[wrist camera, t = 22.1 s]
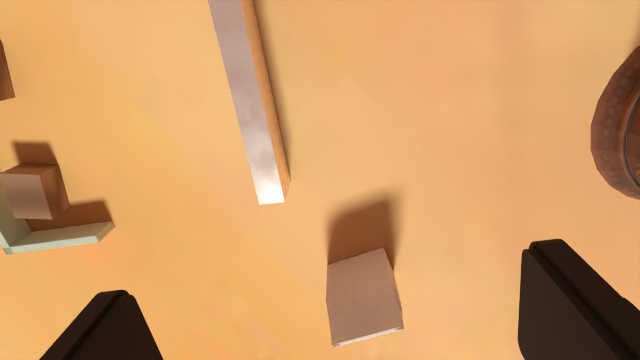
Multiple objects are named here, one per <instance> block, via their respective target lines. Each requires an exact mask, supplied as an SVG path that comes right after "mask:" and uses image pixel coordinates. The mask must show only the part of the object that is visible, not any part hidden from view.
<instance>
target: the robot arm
mask: <svg viewBox="0 0 640 360" xmlns="http://www.w3.org/2000/svg"><path fill="white" fill-rule="evenodd" d="M518 344H519V348H520V351H521V353H522V355H523V357H524V359H525V360H640V311H639V310H638V309H637V308H636V307H635V306H634V305H633V304H632V303H631V302H629V301H628V300H627V299H625V298H623V297H622V296H621V295H619V294H618V293H617V292H616V291H615V290H614V289H613V288H612V287H611V286H610V285H609V284H608V283H607V282H606V281H605V280H604V279H603V278H602V277H601V276H600V275H599V274H598V273H597V272H596V271H595V270H594V269H593V268H592V267H591V266H589V265H588V264H587V263H586V262H585V261H584V260H583V259H582V258H581V257H580V256H579V255H578V254H577V253H576V252H575V251H574V250H573V249H572V248H571V247H570V246H569V245H568V244H567V243H566V242H565V241H563V240H562V239H552V240H544V241H535V242H532V243H531V244H530V246H529V249H525V250H523V252H522V262H521V282H520V302H519V322H518ZM39 360H163V358H162V356H161V353H160V351H159V349H158V347H157V345H156V342H155V340H154V338H153V336H152V334H151V332H150V329H149V327H148V325H147V323H146V321H145V318H144V316H143V314H142V312H141V310H140V308H139V305H138V303H137V301H136V299H135V297H134V296H132V295H129V293H128V292H127V291H125V290H115V291H107V292H101V293H98V294H97V295H96V296H95V297H94V298H93V299H92V300H91V301H90V302H89V303H88V305H87V306H86V307H85V308H84V309H83V310H82V311H81V313H80V314H79V315H78V316H77V317H76V318H75V319H74V321H73V322H72V323H71V324H70V325H69V326H68V327H67V329H66V330H65V331H64V332H63V333H62V334H61V335H60V337H59V338H58V339H57V340H56V341H55V342H54V343H53V345H52V346H51V347H50V348H49V349H48V350H47V351H46V353H45V354H44V355H43V356H42V357H41V358H40V359H39Z"/></svg>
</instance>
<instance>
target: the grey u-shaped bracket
mask: <svg viewBox="0 0 640 360" xmlns="http://www.w3.org/2000/svg"><path fill="white" fill-rule="evenodd" d="M113 228H115V225H114V223H113V221H107V222H100V223H93V224H85V225H78V226H71V227H64V228H56V229H49V230H42V231H34V232H32V231H31V230H30V228H29V226H28V224H27V222H26V220H25V219H24V218H15V217H14V214H13V211H12V208H11V205H10V203H9V200H8V197H7V194H6V191H5V188H4V185H3V182H2V179H1V176H0V244H1V246H2V248H3V249H4V251H5V253H6V254H13V253H21V252H28V251H36V250H44V249H51V248H59V247H66V246H74V245H81V244H89V243H97V242H100V241H101V240H102V239H103V238H104V237H105V236H106V235H107V234H108V233H109V232H110V231H111V230H112V229H113Z"/></svg>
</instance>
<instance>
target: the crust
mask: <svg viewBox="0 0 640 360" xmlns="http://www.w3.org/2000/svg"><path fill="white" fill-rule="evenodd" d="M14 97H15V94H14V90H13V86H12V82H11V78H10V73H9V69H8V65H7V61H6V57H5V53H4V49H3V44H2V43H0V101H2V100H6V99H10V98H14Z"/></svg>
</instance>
